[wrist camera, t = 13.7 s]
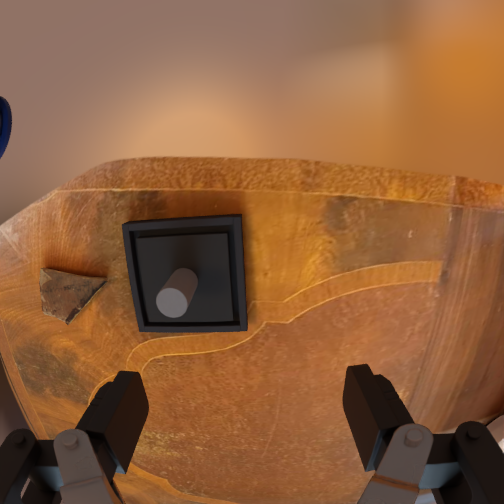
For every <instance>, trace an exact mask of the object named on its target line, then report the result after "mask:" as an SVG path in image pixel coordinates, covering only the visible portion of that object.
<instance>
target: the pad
mask: <svg viewBox="0 0 504 504" xmlns="http://www.w3.org/2000/svg"><path fill="white" fill-rule="evenodd" d="M136 242H137V250H138V257H139V265H140V272H141V278H142V285H143V291H144V297H145V303H146V308H147V314H148V319H149V322H218V321H233V320H234V310H233V297H232V283H231V268H230V253H229V237H228V231H220V232H201V233H183V234H166V235H149V236H139V237H138V238H136Z"/></svg>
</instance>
